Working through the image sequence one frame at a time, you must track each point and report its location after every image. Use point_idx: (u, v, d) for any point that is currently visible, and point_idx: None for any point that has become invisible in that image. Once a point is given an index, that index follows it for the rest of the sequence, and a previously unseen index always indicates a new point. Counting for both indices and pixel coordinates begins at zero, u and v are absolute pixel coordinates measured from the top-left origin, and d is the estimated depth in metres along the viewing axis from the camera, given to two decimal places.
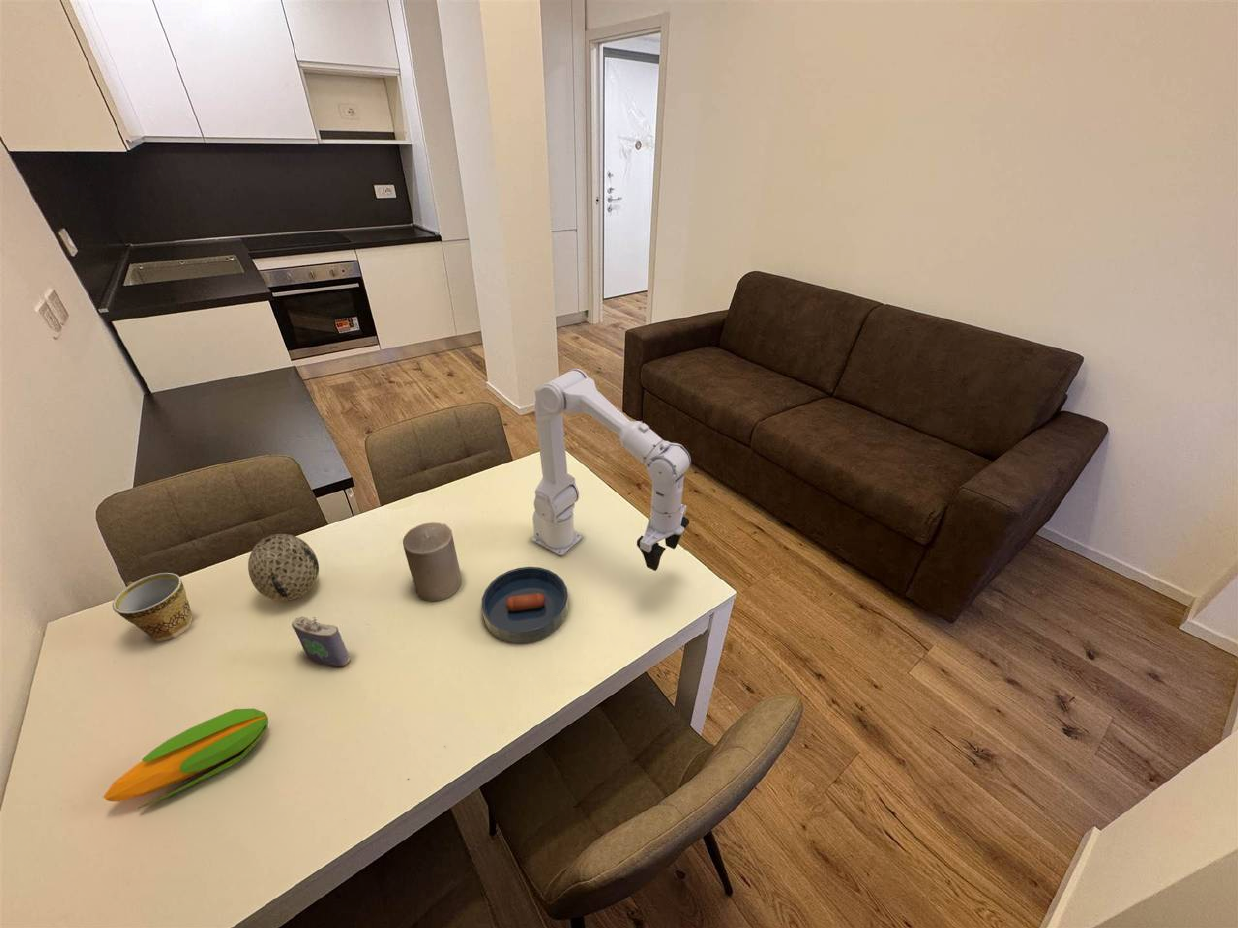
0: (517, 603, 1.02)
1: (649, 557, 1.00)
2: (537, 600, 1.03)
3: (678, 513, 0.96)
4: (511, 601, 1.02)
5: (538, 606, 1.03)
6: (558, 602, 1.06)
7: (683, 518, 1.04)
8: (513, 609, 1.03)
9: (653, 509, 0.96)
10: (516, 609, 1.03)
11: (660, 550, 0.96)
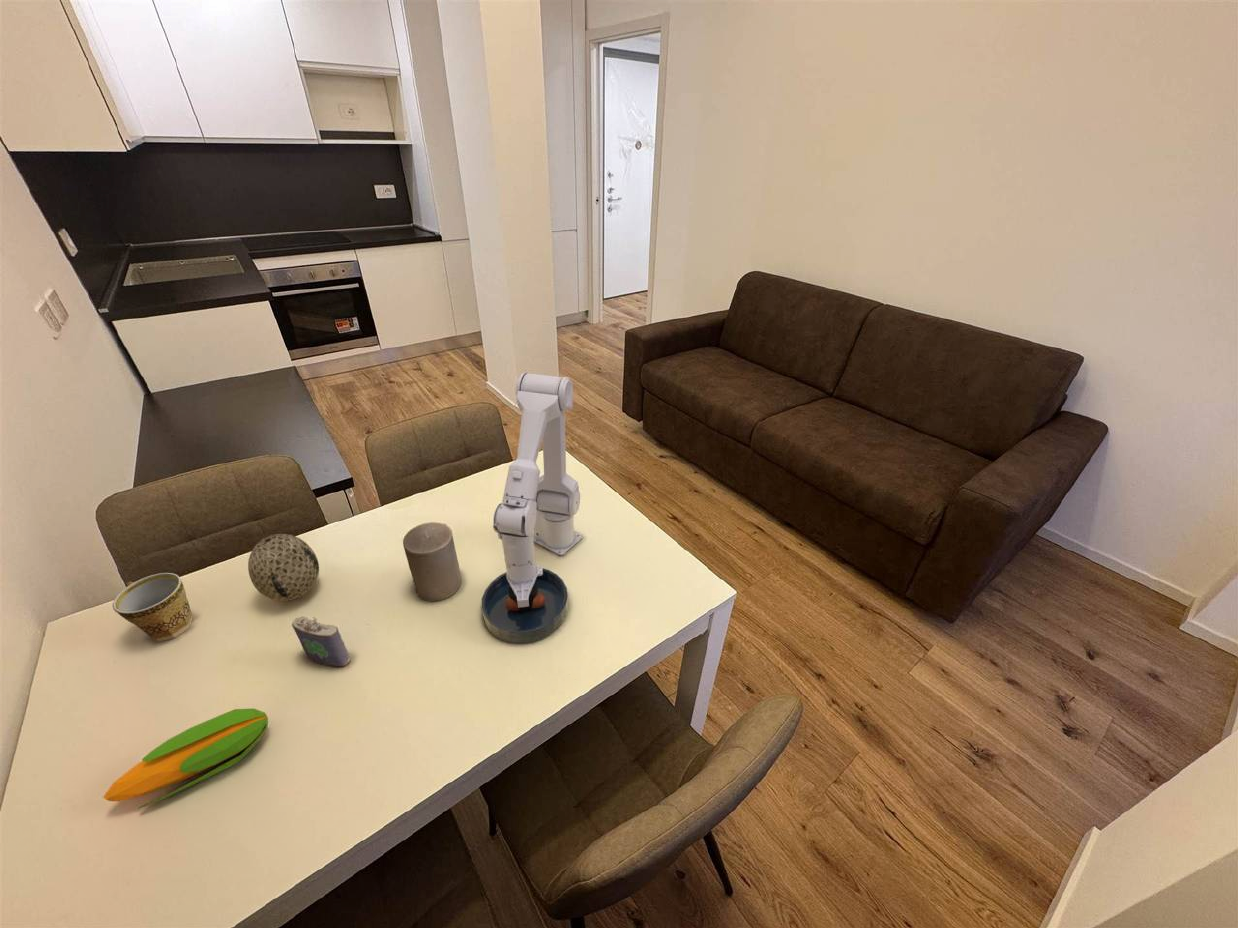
0: None
1: None
2: (537, 600, 1.03)
3: (534, 556, 0.98)
4: (511, 601, 1.03)
5: (538, 606, 1.03)
6: (558, 602, 1.06)
7: None
8: (513, 609, 1.03)
9: (513, 565, 0.95)
10: (516, 609, 1.03)
11: (534, 589, 0.99)
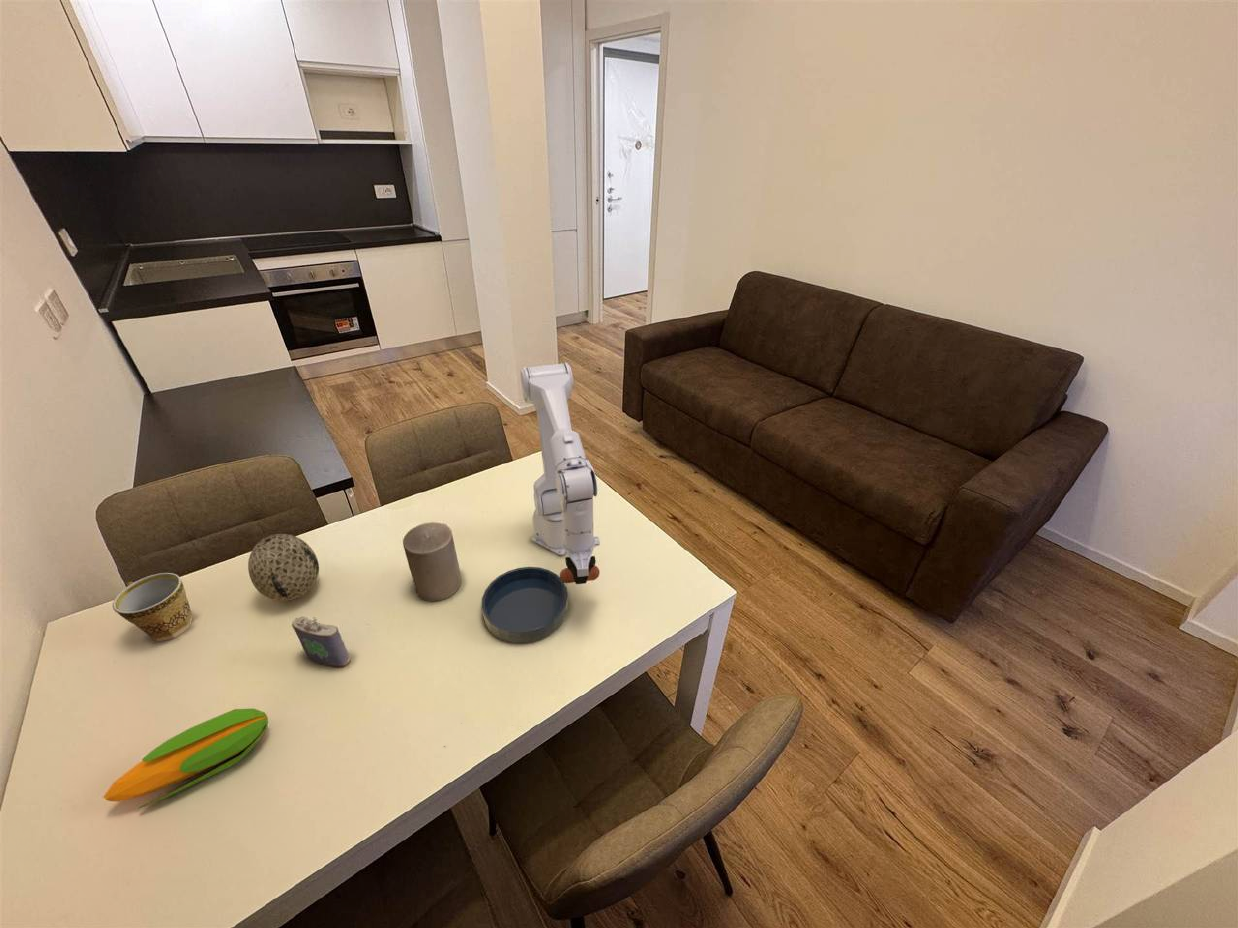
0: None
1: None
2: (592, 572, 1.00)
3: None
4: (565, 572, 1.00)
5: (593, 578, 1.01)
6: (558, 602, 1.06)
7: None
8: (568, 581, 1.00)
9: (572, 533, 0.92)
10: (571, 581, 1.00)
11: (592, 560, 0.96)
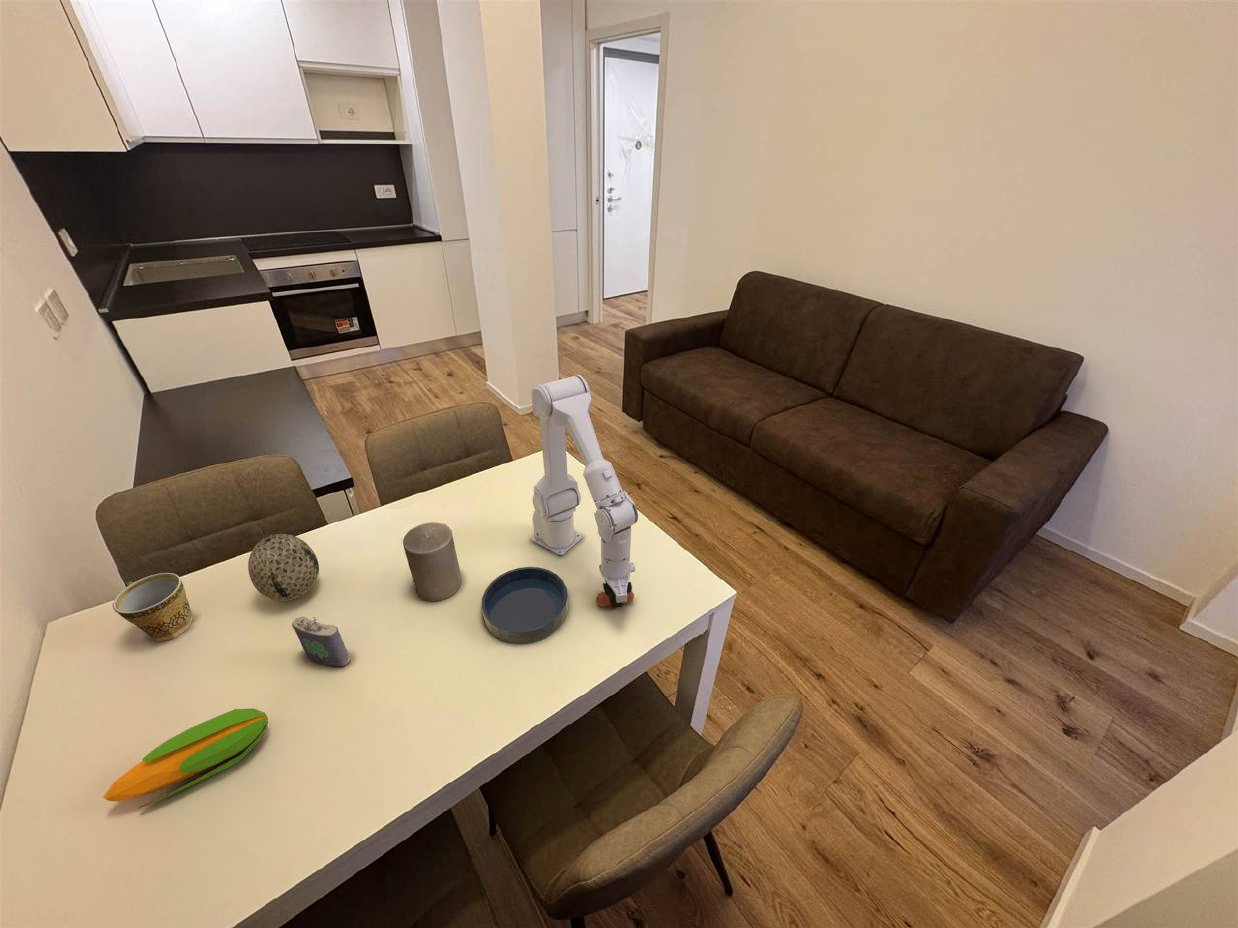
0: (608, 598, 1.04)
1: (615, 598, 1.03)
2: (627, 596, 1.05)
3: None
4: (602, 596, 1.05)
5: (628, 601, 1.05)
6: (558, 602, 1.06)
7: None
8: (604, 604, 1.05)
9: (611, 561, 0.97)
10: (607, 604, 1.05)
11: (629, 586, 1.01)
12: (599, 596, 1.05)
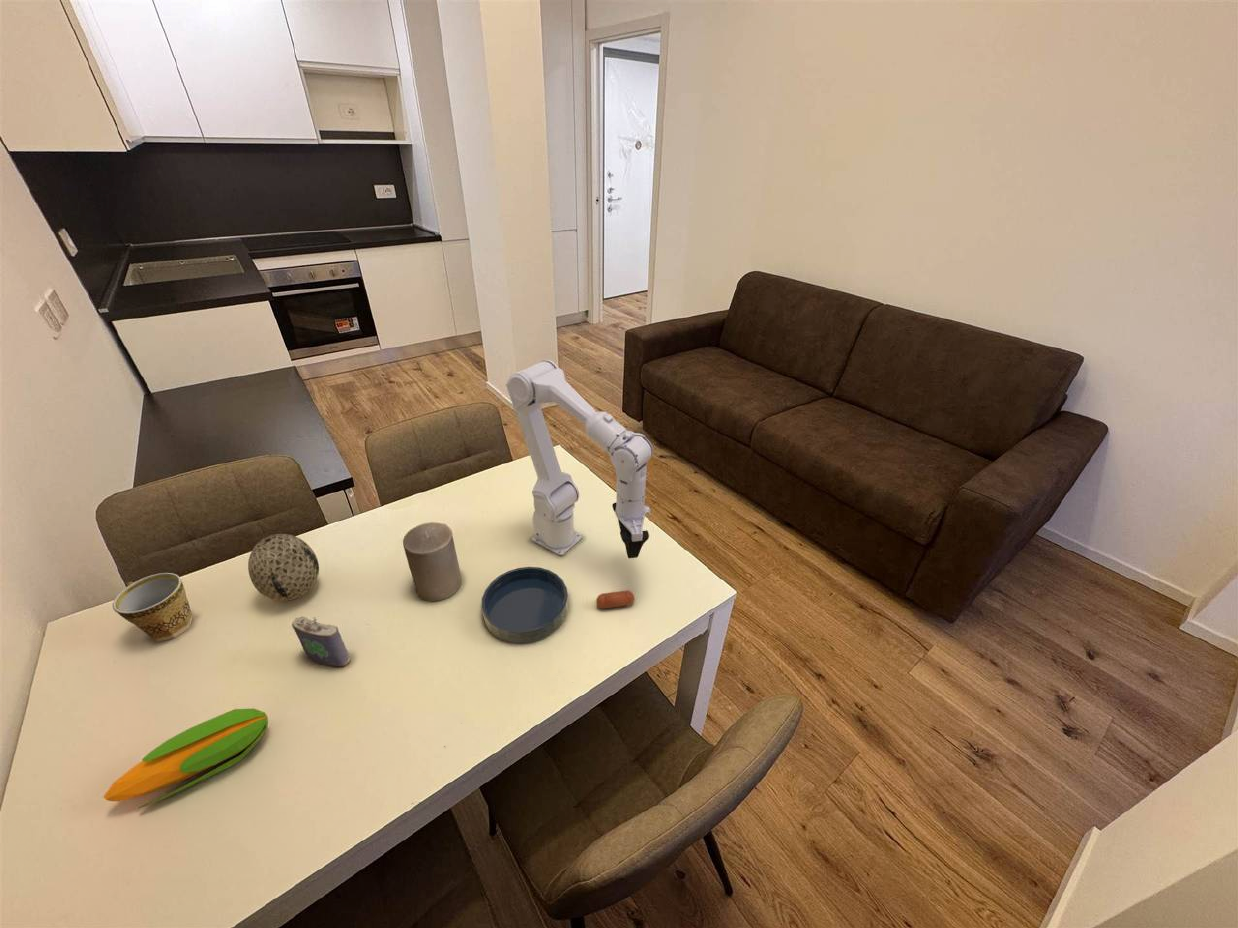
0: (609, 603, 1.04)
1: (631, 547, 1.03)
2: (628, 600, 1.05)
3: None
4: (603, 601, 1.04)
5: (628, 604, 1.05)
6: (558, 602, 1.06)
7: None
8: (604, 607, 1.05)
9: (627, 501, 0.99)
10: (607, 607, 1.05)
11: (646, 534, 1.01)
12: (600, 600, 1.04)
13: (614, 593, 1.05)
